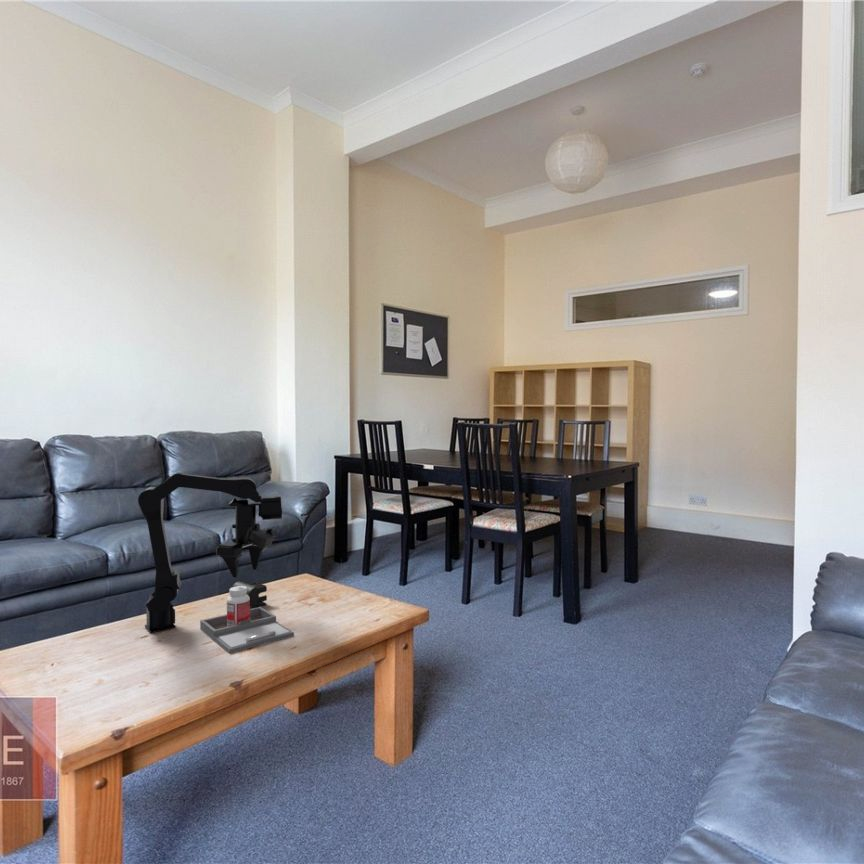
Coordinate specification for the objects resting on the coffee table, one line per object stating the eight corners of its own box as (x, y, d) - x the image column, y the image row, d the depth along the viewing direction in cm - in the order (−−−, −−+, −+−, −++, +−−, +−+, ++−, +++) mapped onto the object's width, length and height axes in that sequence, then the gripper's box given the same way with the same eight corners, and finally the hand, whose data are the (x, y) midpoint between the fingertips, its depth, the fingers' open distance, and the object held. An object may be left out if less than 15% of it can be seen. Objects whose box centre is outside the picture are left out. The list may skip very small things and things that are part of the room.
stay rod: (246, 642, 145) (246, 639, 145) (244, 641, 146) (244, 637, 146) (275, 635, 151) (275, 631, 151) (274, 634, 151) (274, 630, 151)
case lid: (229, 653, 142) (229, 648, 142) (213, 640, 150) (213, 636, 150) (293, 636, 153) (293, 631, 153) (276, 624, 161) (276, 620, 161)
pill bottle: (252, 623, 163) (252, 584, 163) (246, 631, 157) (246, 591, 156) (230, 623, 163) (230, 585, 162) (224, 631, 156) (223, 591, 156)
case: (213, 640, 150) (213, 628, 150) (200, 629, 158) (200, 617, 158) (276, 624, 161) (276, 613, 161) (260, 615, 169) (260, 604, 169)
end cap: (229, 604, 179) (229, 583, 179) (249, 599, 185) (249, 578, 185) (248, 611, 173) (247, 589, 173) (267, 605, 179) (267, 584, 179)
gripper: (248, 528, 155) (248, 584, 155) (287, 517, 172) (286, 568, 173) (215, 525, 158) (214, 580, 159) (256, 515, 176) (256, 565, 176)
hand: (245, 573), depth 166 cm, fingers open, 9 cm apart
